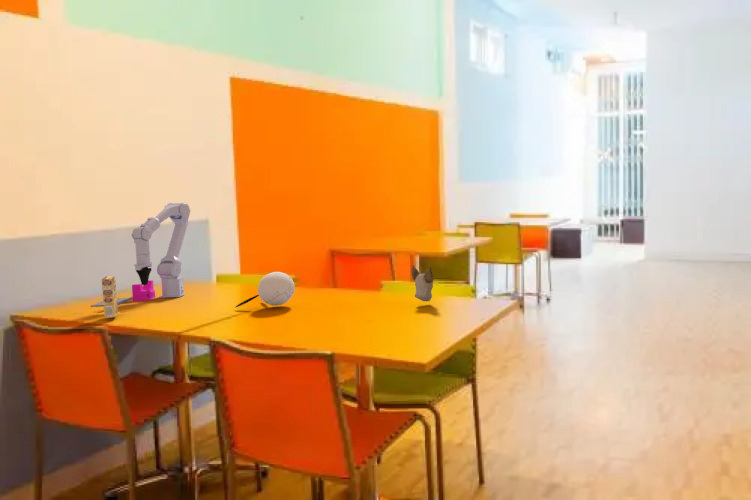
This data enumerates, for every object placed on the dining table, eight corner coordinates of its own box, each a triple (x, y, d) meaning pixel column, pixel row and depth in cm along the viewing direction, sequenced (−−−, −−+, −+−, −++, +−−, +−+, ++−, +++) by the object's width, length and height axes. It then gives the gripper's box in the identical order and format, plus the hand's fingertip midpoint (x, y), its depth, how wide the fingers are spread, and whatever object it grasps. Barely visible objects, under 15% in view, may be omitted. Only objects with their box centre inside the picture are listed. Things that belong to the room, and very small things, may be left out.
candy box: (115, 317, 279) (112, 278, 278) (104, 318, 278) (101, 278, 277) (118, 313, 287) (115, 275, 286) (107, 314, 286) (104, 276, 285)
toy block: (146, 301, 320) (145, 284, 319) (132, 301, 321) (131, 284, 320) (159, 296, 335) (158, 280, 334) (146, 296, 335) (145, 280, 335)
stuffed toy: (311, 290, 297) (269, 316, 308) (296, 261, 299) (255, 288, 310) (284, 297, 280) (242, 324, 292) (269, 266, 282) (227, 295, 294)
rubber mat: (134, 298, 328) (134, 296, 328) (116, 305, 308) (116, 303, 308) (110, 299, 328) (110, 297, 328) (90, 306, 309) (90, 304, 309)
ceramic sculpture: (442, 301, 289) (441, 265, 288) (428, 304, 283) (427, 267, 282) (421, 299, 297) (420, 263, 295) (408, 302, 290) (407, 265, 289)
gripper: (140, 252, 323) (141, 282, 324) (127, 256, 309) (129, 287, 310) (155, 252, 323) (157, 282, 324) (143, 255, 308) (145, 286, 309)
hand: (144, 284), depth 317 cm, fingers closed
